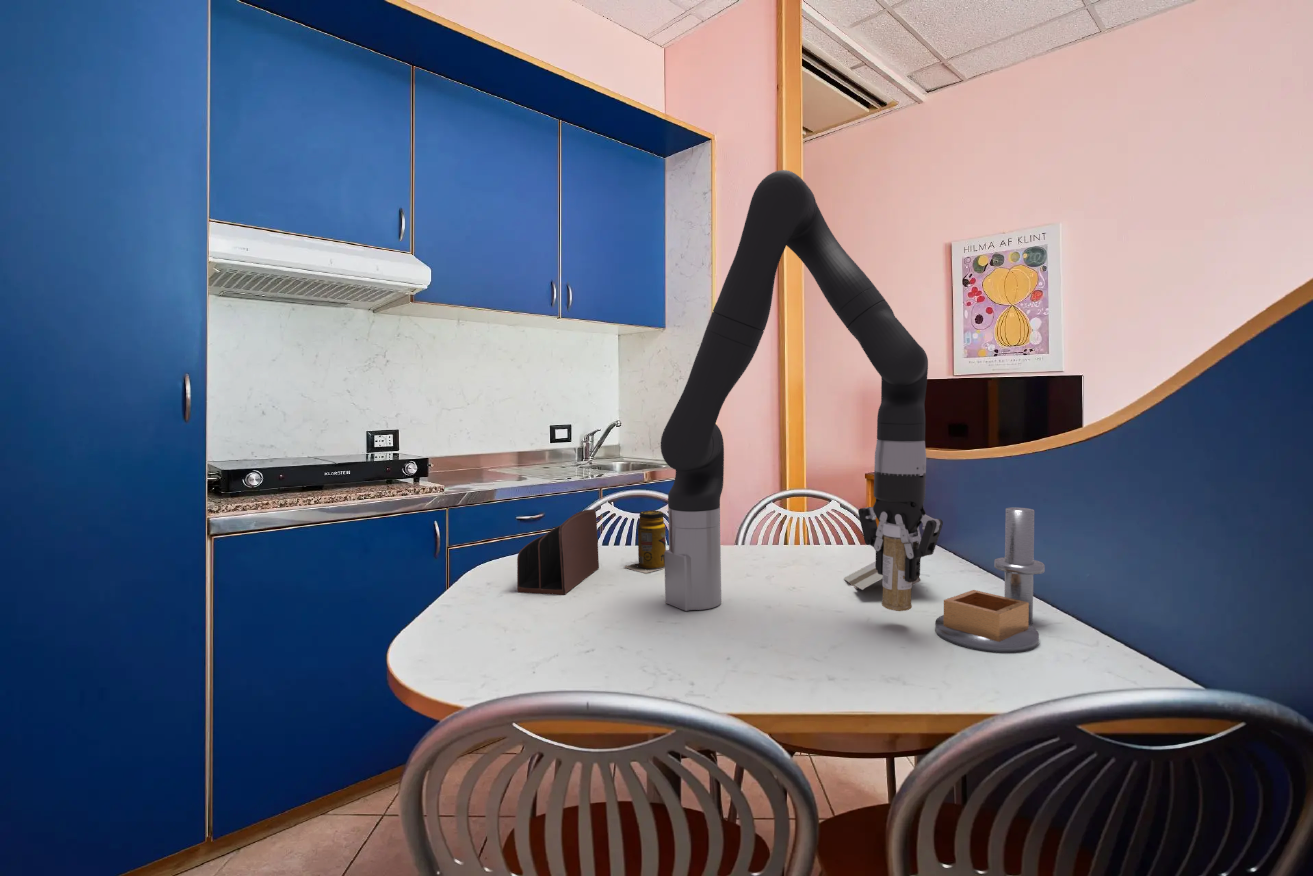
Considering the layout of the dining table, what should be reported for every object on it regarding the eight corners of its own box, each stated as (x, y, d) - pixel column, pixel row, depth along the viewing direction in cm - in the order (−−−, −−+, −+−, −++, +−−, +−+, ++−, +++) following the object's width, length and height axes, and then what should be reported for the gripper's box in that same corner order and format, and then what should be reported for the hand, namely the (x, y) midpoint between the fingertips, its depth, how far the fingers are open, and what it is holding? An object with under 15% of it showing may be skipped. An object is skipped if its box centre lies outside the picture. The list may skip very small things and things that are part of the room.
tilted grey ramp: (895, 627, 116) (959, 569, 116) (860, 589, 117) (923, 532, 117) (872, 612, 133) (928, 561, 133) (842, 578, 134) (897, 528, 134)
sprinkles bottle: (912, 613, 102) (915, 526, 101) (881, 610, 103) (883, 524, 102) (910, 604, 106) (913, 520, 105) (880, 601, 108) (882, 519, 107)
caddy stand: (1008, 660, 91) (1010, 530, 90) (916, 632, 102) (917, 516, 101) (1075, 628, 103) (1078, 512, 102) (986, 606, 114) (987, 502, 113)
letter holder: (599, 569, 145) (597, 505, 144) (565, 596, 125) (562, 522, 125) (556, 567, 147) (554, 504, 146) (516, 593, 128) (514, 520, 127)
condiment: (674, 566, 145) (673, 511, 145) (646, 574, 140) (645, 517, 139) (651, 560, 151) (650, 508, 150) (623, 568, 145) (622, 513, 144)
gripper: (846, 466, 107) (844, 571, 108) (927, 475, 95) (924, 593, 97) (875, 463, 111) (873, 564, 112) (956, 472, 100) (953, 584, 101)
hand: (897, 577), depth 104 cm, fingers closed on sprinkles bottle, 4 cm apart
